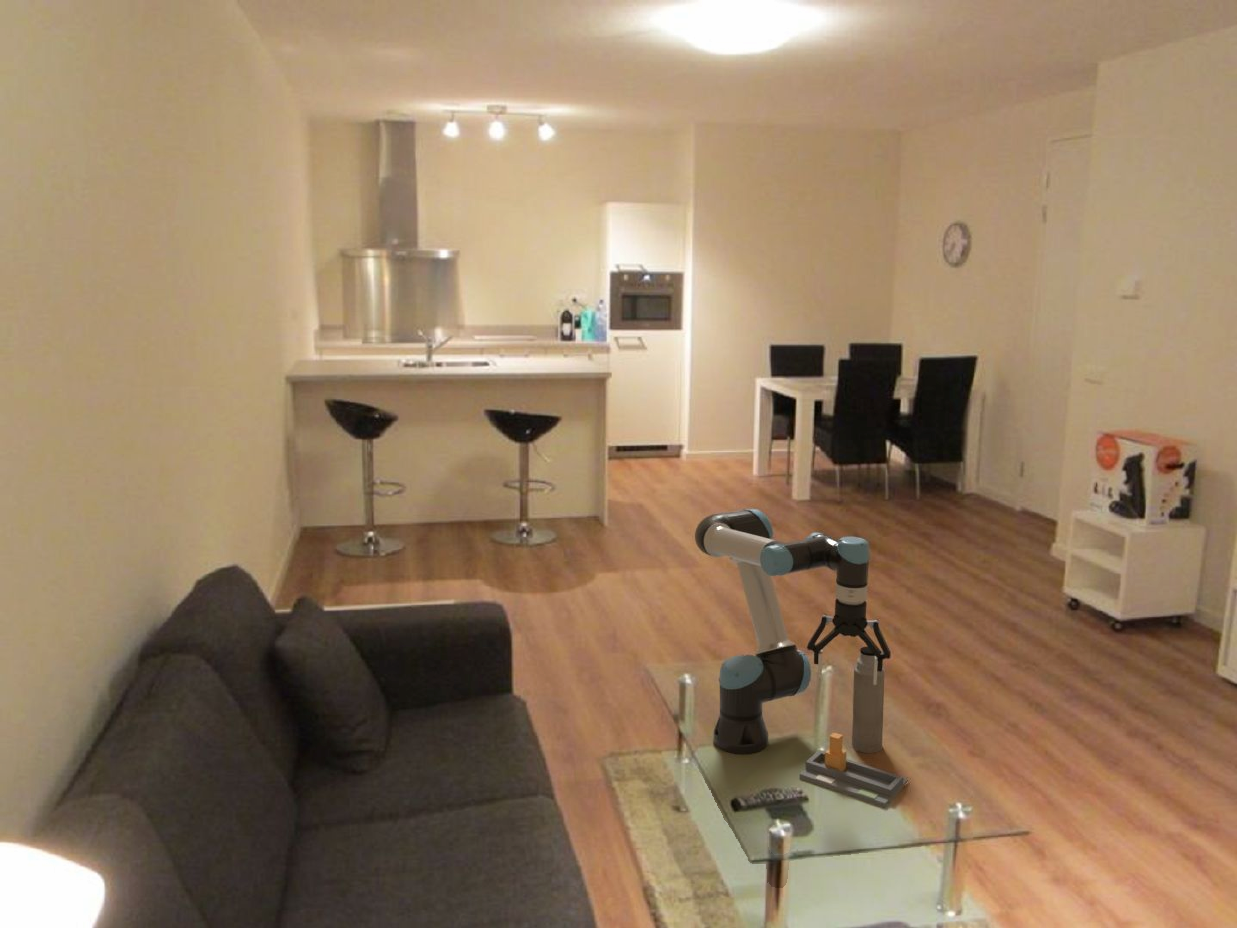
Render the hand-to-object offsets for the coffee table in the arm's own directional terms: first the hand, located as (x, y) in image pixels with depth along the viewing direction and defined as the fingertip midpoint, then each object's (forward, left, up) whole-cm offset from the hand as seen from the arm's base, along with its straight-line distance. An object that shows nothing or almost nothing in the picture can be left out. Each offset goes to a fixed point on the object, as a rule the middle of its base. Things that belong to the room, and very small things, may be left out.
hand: (847, 679), depth 239 cm
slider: (-2, -1, -25) cm, 25 cm away
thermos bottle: (-2, +18, -27) cm, 32 cm away
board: (+3, -1, -26) cm, 27 cm away
